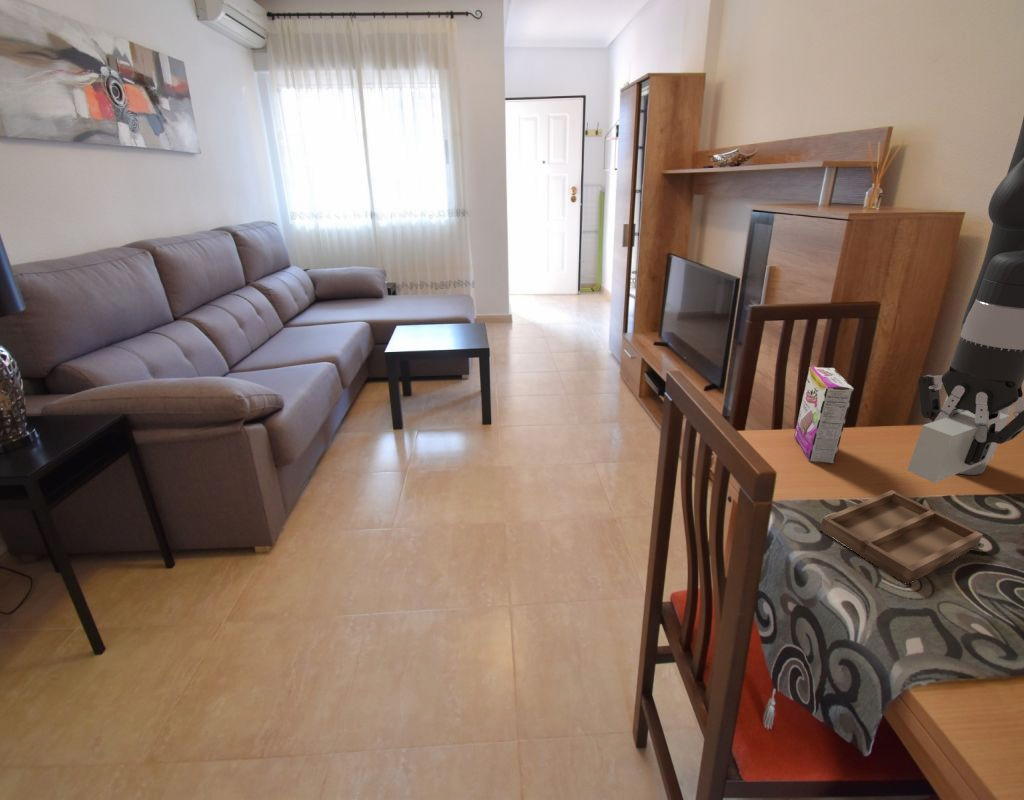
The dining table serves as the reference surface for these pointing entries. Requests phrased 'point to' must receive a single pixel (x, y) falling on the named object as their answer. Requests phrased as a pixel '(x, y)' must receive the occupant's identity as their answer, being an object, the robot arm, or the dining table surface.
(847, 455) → the dining table surface
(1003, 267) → the robot arm
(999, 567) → the dining table surface
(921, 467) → the light gray rectangular block
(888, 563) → the tray
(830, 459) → the candy bar box
